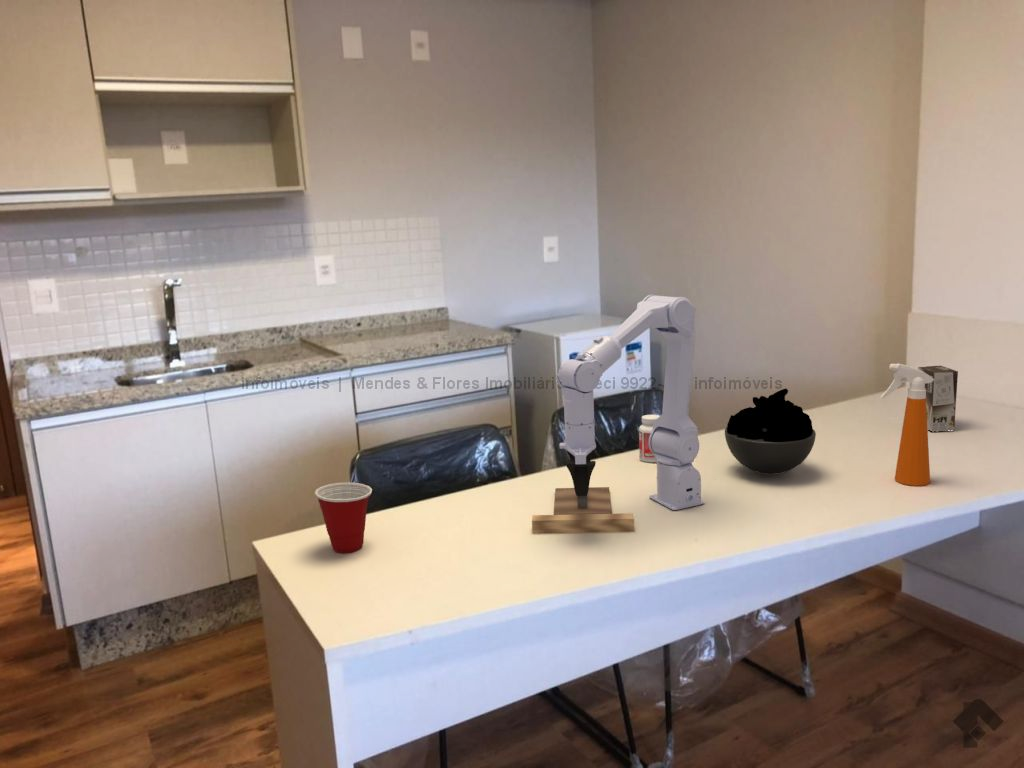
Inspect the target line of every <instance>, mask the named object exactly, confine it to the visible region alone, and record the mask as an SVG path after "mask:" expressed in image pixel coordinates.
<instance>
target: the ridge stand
mask: <svg viewBox="0 0 1024 768" xmlns="http://www.w3.org/2000/svg"><path fill="white" fill-rule="evenodd" d="M611 501H612V500H611V491H610V487H609V486H601V487H598V486H597V487H595V486H594V487H590V486H589V490H588V494H587V496H576V493H575V489H574V487H559V488H558V487H557V488H556V487H555V492H554V505H553V515H571V514H613V509H612V502H611Z"/></svg>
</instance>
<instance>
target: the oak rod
mask: <svg viewBox="0 0 1024 768" xmlns="http://www.w3.org/2000/svg"><path fill="white" fill-rule="evenodd" d="M531 529H532V530H531V531H532V532H531V533H534V534H535V533H537V535H538V534H572V533H573V534H577V533H578V534H579V533H582V534H583V533H587V534H588V533H628V532H629V533H630V532H631V533H632V532H633V533H634V532H635V516H634V512H629V513H628V512H625V513H623V512H621V513H612V514H571V515H554V514H542V515H541V514H535V515H532V517H531ZM535 535H536V534H535Z"/></svg>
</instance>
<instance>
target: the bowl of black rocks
mask: <svg viewBox="0 0 1024 768" xmlns="http://www.w3.org/2000/svg"><path fill="white" fill-rule="evenodd" d="M788 393H789V389H788V388H782V389H781V390H778V391H776V392H774V393H773V394H770V395H769V396H768V397H767V396H764V395H761V396H759V397H758V396H753V397H752V403H753V405H754V407H751V406H749V407H746V408H743V409H740V410H739V411H738V412H737V413H735V414H731V415H730V417H729V420H728V421H727V424H726V427H725V429H724V438H725V443H726V445H727V448H728V449H729V451H730V452H731V455H732V456H733V457H734V458H735V460H736V461H737V462H738V463H740V464H741V465H742V466H743V467H745V468H747V469H748V470H751V471H753V472H755V473H757V474H763V475H779V474H784V473H787V472H789V471H792V470H794V469H796V468H797V467H798V466H800V465H801V464H802V463H803V462H804V461H806V459H807V457H808V456H809V455H810V453H811V452H812V450H813V448H814V444H815V441H816V436H817V435H816V430H815V429H814V428H813V421H812V419H811V418H810V415H809V414H808V413H806V412H804V410H803V407H801V406H799V405H797V404H794V402H792V401H790V400H789V399H788V400H787V399H786V396H787V395H788Z"/></svg>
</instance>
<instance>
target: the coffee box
mask: <svg viewBox="0 0 1024 768" xmlns="http://www.w3.org/2000/svg"><path fill="white" fill-rule="evenodd" d="M918 370H920V371H923V372H924V373H926V374H928V375H929V376H930V377H932V378H933V379H934V381H932V382H930V383H925V389H926V410H927V429H928V430H930V431H948V430H950V431H949V432H952V431H951V430H954V431H955V425H956V422H955V421H956V407H957V393H958V392H957V391H958V379H959V377H958V376H959V371H957V370H955V369H952V368H950V367H946V366H943V365H928V366H918ZM930 431H929V432H930Z"/></svg>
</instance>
